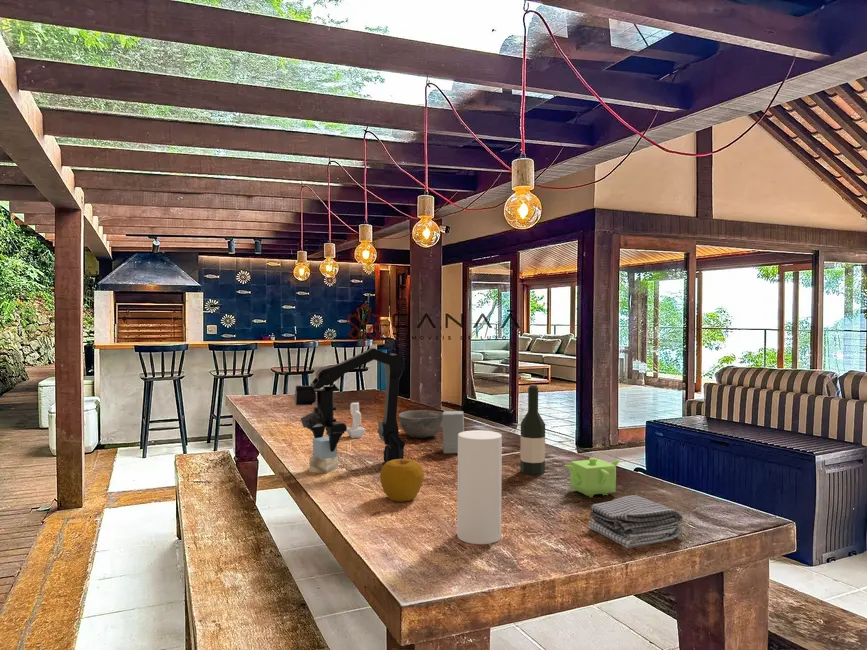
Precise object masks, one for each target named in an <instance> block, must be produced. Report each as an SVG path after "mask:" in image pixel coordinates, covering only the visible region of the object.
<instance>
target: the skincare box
mask: <svg viewBox="0 0 867 650" xmlns="http://www.w3.org/2000/svg"><path fill="white" fill-rule="evenodd" d="M442 413H443V414H442V420H443V427H442V445H443V446H442V447H443V448H442V449H443V454H458V434H459V433H461V432H464V431H465V416H464V415H465V414H464V411H463V410H457V411H456V410H455V411H450V410H449V411H447V410H446V411H443V412H442Z"/></svg>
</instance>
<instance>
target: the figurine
mask: <svg viewBox="0 0 867 650" xmlns="http://www.w3.org/2000/svg"><path fill="white" fill-rule="evenodd" d="M349 410H350V412H349V413H350V414H351V416H352V426H350V427H348V426H347V431H346V432H347V434H348V437H350V438H352V439H359V438H360V439H361V438H363V436H364V435H365V433H366V430H367V429H366V428H365V427H363V426H359V425H361V423H362V413H361V412H360V402H351V403H350V408H349Z"/></svg>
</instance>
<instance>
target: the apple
mask: <svg viewBox="0 0 867 650" xmlns="http://www.w3.org/2000/svg"><path fill="white" fill-rule="evenodd" d="M424 472H425V471H424V469H423V467H422V465H421V463H419V462H418V461H416V460H415V459H411V458H410V459H409V458H404V459H394V460H390V461H388V462H386V463H385V464H383V465H382V468H381V469H380V473H379V474H380V475H379V478H380V480H379V481H380V484H381V487H382V490H383V492H384V493H385V495H386V497H387V498H388V499H390V500H391V501H393V502H397V503H401V502H402V503H405V502H410V501H412V500H414V499H416V497H417V495H418V494H419V492H420V490H421V488H422V485H423V482H424V480H425V473H424Z"/></svg>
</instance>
